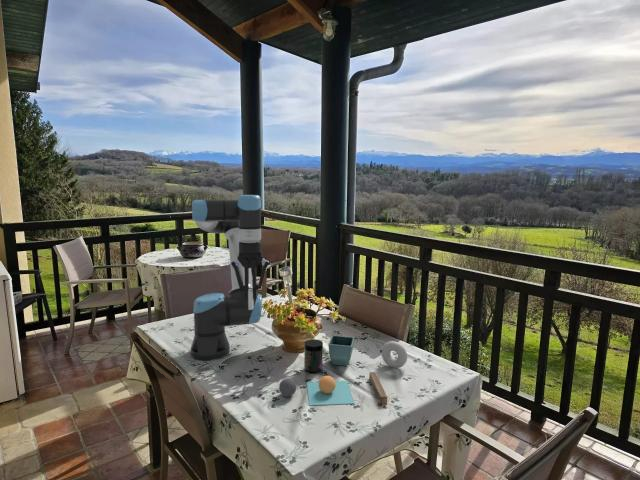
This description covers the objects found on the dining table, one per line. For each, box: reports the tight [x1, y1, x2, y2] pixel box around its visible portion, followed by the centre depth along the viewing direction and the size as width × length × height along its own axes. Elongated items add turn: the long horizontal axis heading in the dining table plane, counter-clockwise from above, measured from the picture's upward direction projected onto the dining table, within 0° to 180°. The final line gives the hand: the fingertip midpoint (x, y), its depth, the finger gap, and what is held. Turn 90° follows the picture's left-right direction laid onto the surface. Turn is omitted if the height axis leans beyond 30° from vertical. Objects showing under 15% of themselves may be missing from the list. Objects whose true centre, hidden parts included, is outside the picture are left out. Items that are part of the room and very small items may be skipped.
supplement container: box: [303, 339, 324, 375], centre depth 141 cm, size 7×7×10 cm
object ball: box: [318, 375, 336, 394], centre depth 126 cm, size 6×6×6 cm
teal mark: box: [306, 380, 356, 407], centre depth 127 cm, size 14×14×1 cm
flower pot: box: [328, 334, 355, 367], centre depth 147 cm, size 9×9×9 cm
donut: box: [381, 340, 408, 369], centre depth 144 cm, size 10×4×10 cm, turn 55°
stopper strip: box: [369, 371, 388, 405], centre depth 128 cm, size 2×16×2 cm, turn 5°
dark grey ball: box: [278, 377, 297, 397], centre depth 125 cm, size 6×6×6 cm
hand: (251, 308), depth 135 cm, fingers closed
